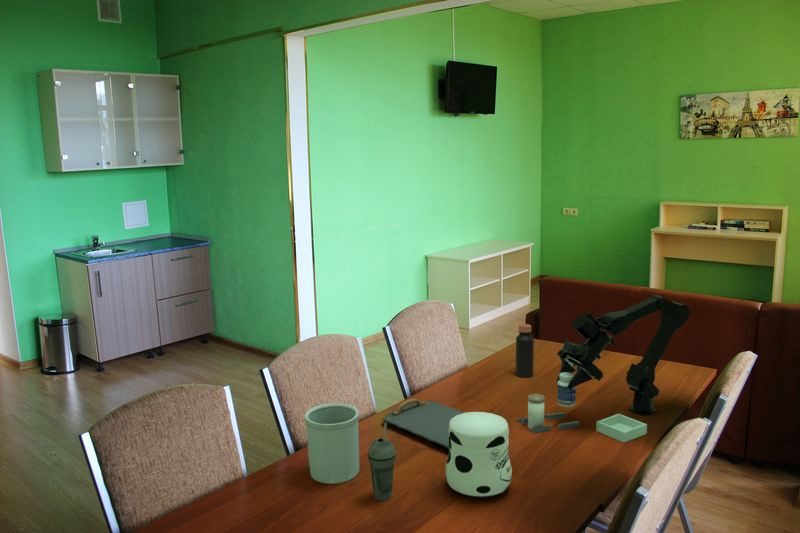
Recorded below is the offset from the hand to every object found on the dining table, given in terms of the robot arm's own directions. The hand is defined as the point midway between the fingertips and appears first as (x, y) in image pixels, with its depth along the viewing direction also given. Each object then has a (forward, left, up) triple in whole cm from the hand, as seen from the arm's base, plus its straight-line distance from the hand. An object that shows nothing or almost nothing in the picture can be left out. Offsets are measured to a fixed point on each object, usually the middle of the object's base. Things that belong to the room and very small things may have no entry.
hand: (563, 385), depth 216 cm
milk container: (+48, +15, -14) cm, 52 cm away
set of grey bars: (+3, -3, -13) cm, 14 cm away
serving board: (+34, -20, -14) cm, 41 cm away
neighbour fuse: (+8, -4, -13) cm, 16 cm away
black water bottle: (-24, -42, -13) cm, 50 cm away
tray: (-10, +15, -13) cm, 23 cm away
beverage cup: (+71, +4, -13) cm, 72 cm away
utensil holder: (+75, -15, -14) cm, 78 cm away
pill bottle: (-1, 0, -7) cm, 7 cm away
